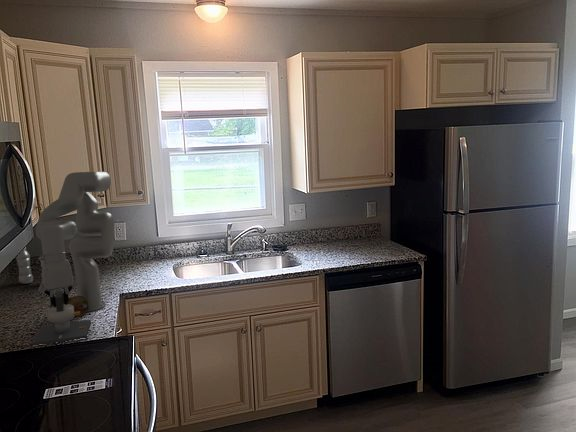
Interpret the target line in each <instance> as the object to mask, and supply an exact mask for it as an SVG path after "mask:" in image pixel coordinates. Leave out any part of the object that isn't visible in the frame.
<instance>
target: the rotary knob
mask: <svg viewBox="0 0 576 432" xmlns="http://www.w3.org/2000/svg"><path fill="white" fill-rule="evenodd" d="M63 293H64V290H59V291H56V292H55V295H54V296H55V300H56V307H54V306H53V307H51V308H47V310H46V311H47V318H48V323H51V324H55V323H61V322H66V321H69V322H70V321H71V320H74V319H75V318H76V317H75V316H76V315H80V311H79V312H74V306H73V305H71V304H68V305H65V304H64V299H63Z"/></svg>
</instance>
